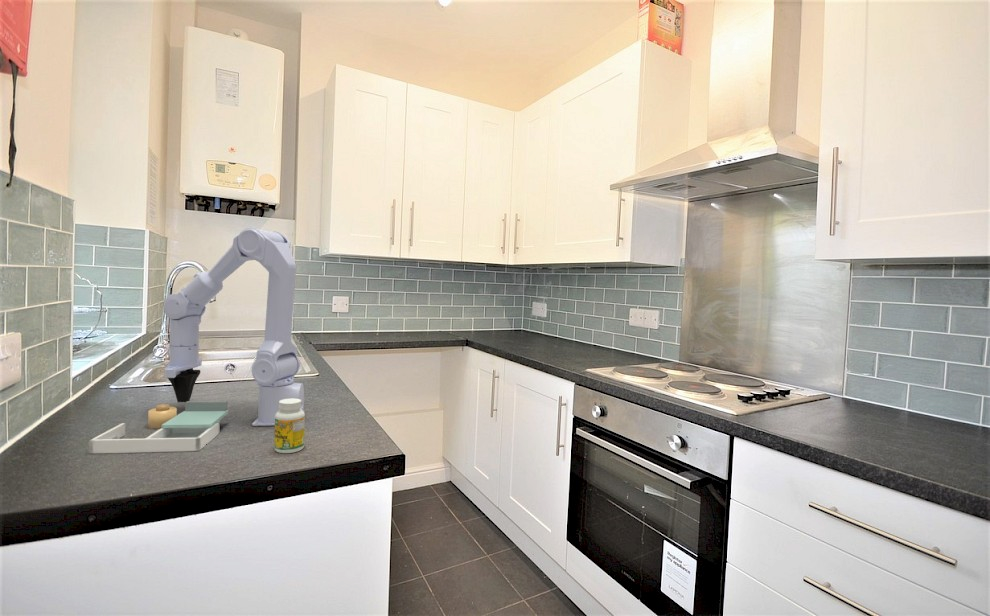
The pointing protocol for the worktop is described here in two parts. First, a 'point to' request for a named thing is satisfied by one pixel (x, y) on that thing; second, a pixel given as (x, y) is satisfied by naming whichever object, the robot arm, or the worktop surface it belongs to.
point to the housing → (154, 440)
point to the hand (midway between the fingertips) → (183, 401)
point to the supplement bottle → (289, 426)
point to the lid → (198, 414)
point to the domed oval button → (160, 415)
